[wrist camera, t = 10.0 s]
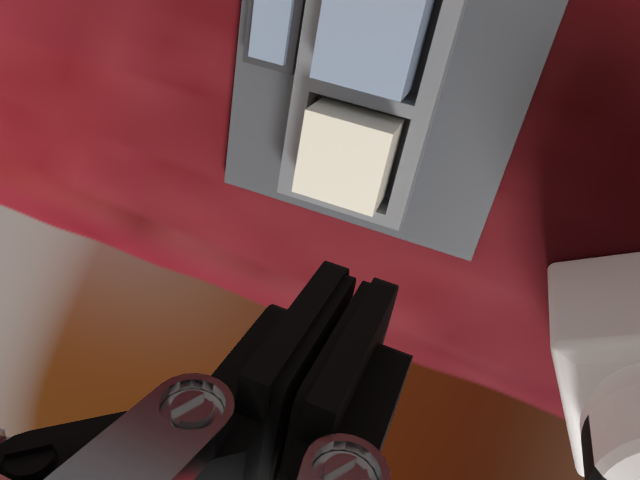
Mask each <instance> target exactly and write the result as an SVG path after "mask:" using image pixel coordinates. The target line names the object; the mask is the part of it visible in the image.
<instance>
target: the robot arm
mask: <svg viewBox="0 0 640 480" xmlns="http://www.w3.org/2000/svg"><path fill="white" fill-rule="evenodd" d="M355 284H356V278H354V277H351V276H349V269H348V268H346V267H343V266H340V265H337V264H334V263H331V262H328V261H324V262H323V263H322V265H321V266H320V267H319V269H318V270H317V271H316V273H315V274H314V275H313V277H312V278H311V279H310V281H309V282H308V283H307V285H306V286H305V287H304V289H303V290H302V291H301V293H300V294H299V295H298V297H297V298H296V299H295V301H294V302H293V303H292V305H291V306H290V307H289V308H288V310H287V309H285V308H282V307H279V306H277V305H274V304H272V305H269V306H268V307H267V308H266V309H265V311H264V312H263V313H262V314H261V316H260V317H259V318H258V319H257V320H256V322H255V323H254V324H253V325H252V326H251V328H250V329H249V330H248V331H247V333H246V334H245V335H244V336H243V337H242V339H241V340H240V341H239V342H238V344H237V345H236V346H235V347H234V348H233V350H232V351H231V352H230V353H229V354H228V356H227V357H226V358H225V359H224V361H223V362H222V363H221V364H220V366H219V367H218V368H217V369H216V370H215V372H214V373H213V374H212V375H211V376H209V375H205V374H199V373H190V374H182V375H178V376H175V377H172V378H170V379H168V380H167V381H165V382H163V383H162V384H160V385H159V386H158V387H156V388H155V389H154V390H153V391H152V392H150V393H149V394H148V395H147V396H146V397H144V398H143V399H142V400H141V401H139V402H138V403H137V404H136V405H134V406H133V407H132V408H131V409H129V410H128V411H124V412H120V413H115V414H110V415H105V416H100V417H95V418H90V419H85V420H80V421H75V422H70V423H66V424H60V425H56V426H51V427H46V428H41V429H36V430H31V431H28V432H24V433H21V434H18V435H15V436H13V437H6V434H5V430H3V429H0V480H391V479H390V478H391V477H390V469H389V467H388V464H387V462H386V460H385V458H384V457H383V455H382V454H381V450H382V447H383V444H384V441H385V438H386V435H387V433H388V430H389V426H390V424H391V421H392V418H393V416H394V412H395V410H396V407H397V404H398V401H399V398H400V395H401V391H402V389H403V386H404V383H405V380H406V377H407V373H408V370H409V367H410V364H411V361H412V358H413V356H412V355H409V354H406V353H404V352H401V351H398V350H396V349H393V348H390V347H388V346H385V345H383V342H384V339H385V335H386V332H387V328H388V324H389V321H390V317H391V314H392V310H393V307H394V303H395V300H396V296H397V292H398V288H399V286H398V285H395V284H392V283H390V282H387V281H384V280H381V279H378V278H374V279H373V280H372V282H371V283H369V282H366V281H362V283H361V284H360V286H359V288H358V289H357V291H356V293H355V294H354V296H353V293H354V289H355ZM352 297H353V298H352Z"/></svg>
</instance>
